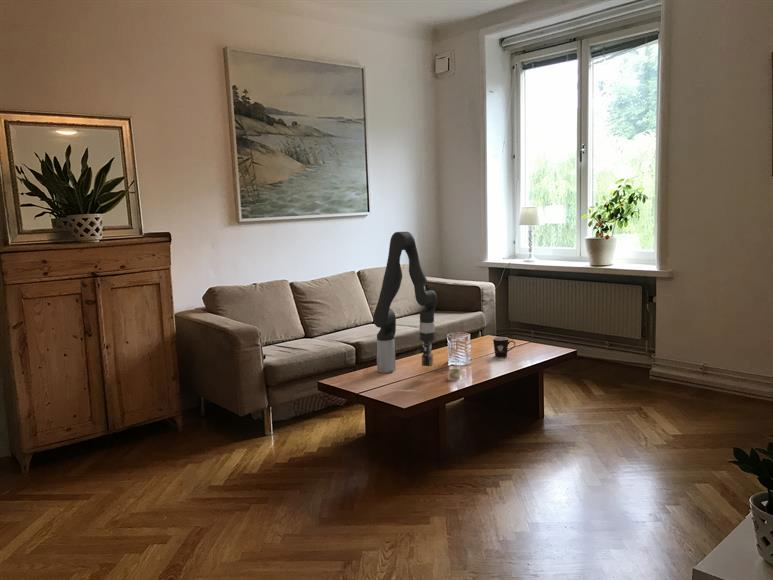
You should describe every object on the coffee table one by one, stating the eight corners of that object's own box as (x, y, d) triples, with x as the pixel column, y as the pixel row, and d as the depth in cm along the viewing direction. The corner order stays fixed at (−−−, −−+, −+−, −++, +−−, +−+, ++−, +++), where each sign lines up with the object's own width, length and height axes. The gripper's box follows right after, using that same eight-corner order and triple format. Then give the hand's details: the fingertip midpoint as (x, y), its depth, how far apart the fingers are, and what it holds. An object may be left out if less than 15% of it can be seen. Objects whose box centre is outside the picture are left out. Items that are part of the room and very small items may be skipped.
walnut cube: (421, 366, 312) (421, 356, 311) (423, 363, 316) (423, 353, 316) (431, 366, 311) (431, 356, 310) (433, 363, 315) (433, 353, 315)
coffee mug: (490, 356, 353) (490, 339, 352) (498, 353, 360) (498, 336, 358) (508, 359, 346) (508, 341, 344) (516, 356, 352) (516, 338, 351)
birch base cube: (449, 378, 310) (449, 369, 309) (450, 376, 315) (450, 366, 314) (459, 379, 309) (459, 369, 308) (460, 376, 314) (460, 366, 313)
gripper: (421, 327, 319) (422, 360, 321) (417, 333, 305) (417, 367, 307) (436, 327, 317) (436, 360, 320) (432, 334, 303) (433, 368, 306)
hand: (427, 363), depth 313 cm, fingers closed on walnut cube, 5 cm apart
